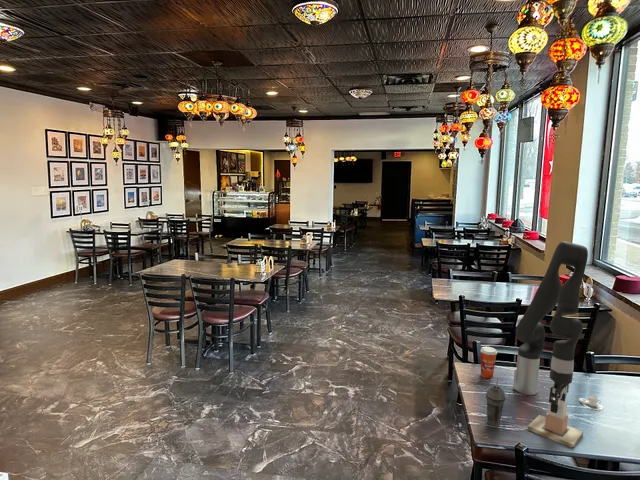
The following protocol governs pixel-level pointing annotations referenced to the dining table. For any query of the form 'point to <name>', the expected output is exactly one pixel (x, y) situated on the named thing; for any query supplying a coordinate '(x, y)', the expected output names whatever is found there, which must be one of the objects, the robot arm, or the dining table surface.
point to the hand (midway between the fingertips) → (557, 408)
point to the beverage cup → (494, 404)
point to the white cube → (559, 409)
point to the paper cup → (487, 361)
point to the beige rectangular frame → (567, 438)
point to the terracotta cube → (556, 423)
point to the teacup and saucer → (591, 402)
